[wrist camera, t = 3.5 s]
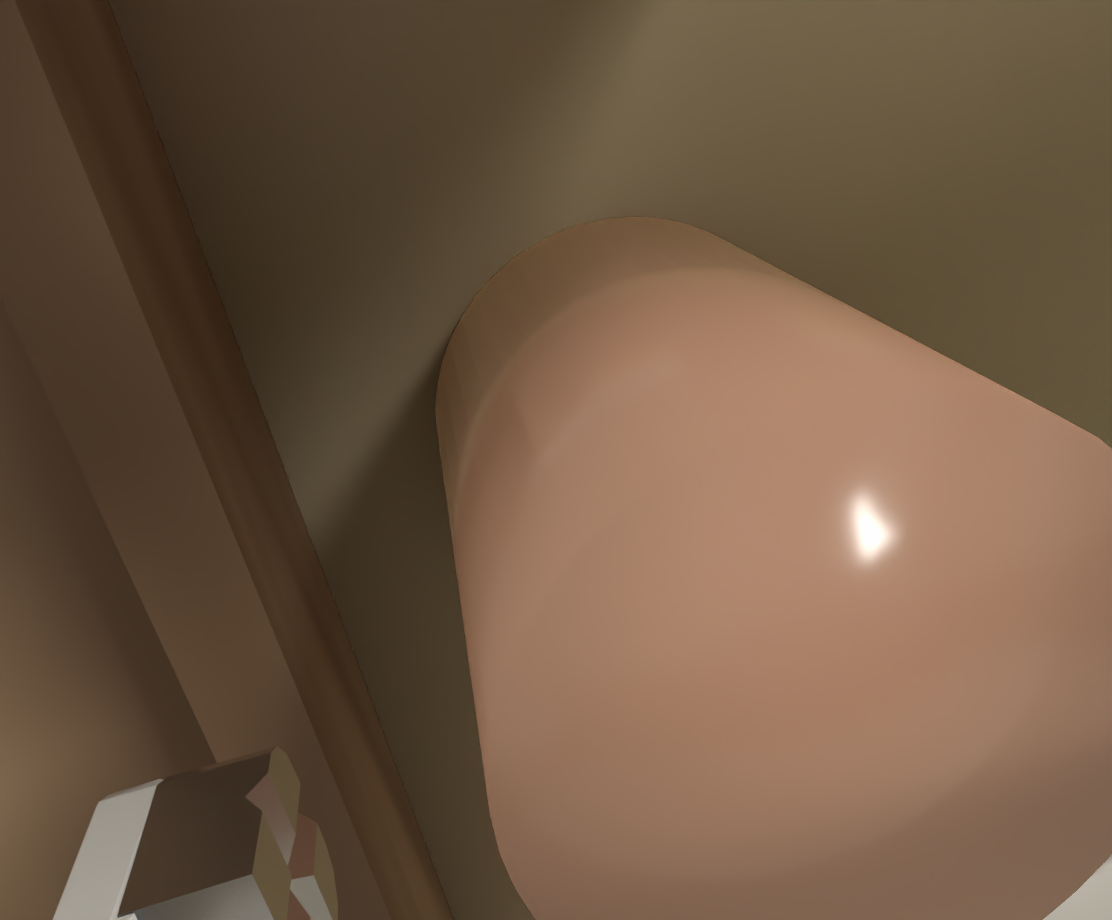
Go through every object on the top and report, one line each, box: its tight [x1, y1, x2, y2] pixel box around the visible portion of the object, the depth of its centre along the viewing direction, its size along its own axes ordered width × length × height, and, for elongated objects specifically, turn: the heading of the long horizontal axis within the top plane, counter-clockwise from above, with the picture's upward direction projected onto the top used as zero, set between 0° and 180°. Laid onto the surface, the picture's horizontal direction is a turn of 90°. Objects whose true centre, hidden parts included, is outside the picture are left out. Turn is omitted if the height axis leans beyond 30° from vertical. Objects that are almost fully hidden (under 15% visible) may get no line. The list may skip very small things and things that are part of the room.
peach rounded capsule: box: [436, 216, 1112, 920], centre depth 11 cm, size 6×6×8 cm
